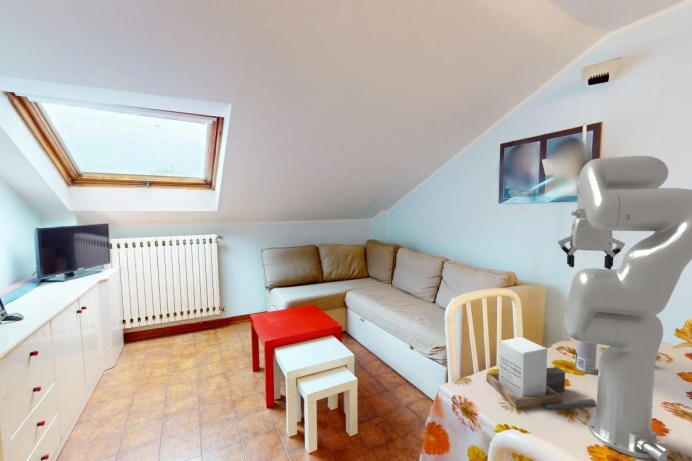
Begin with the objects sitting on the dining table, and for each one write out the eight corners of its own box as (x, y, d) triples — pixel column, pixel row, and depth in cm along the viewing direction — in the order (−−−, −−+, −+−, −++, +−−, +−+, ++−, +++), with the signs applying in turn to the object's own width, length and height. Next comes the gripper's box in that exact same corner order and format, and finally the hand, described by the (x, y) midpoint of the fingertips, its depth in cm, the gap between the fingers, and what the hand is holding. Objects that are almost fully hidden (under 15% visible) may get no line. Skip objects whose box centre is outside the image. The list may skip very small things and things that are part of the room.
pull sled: (580, 402, 84) (581, 382, 84) (515, 408, 82) (516, 387, 82) (542, 376, 98) (543, 358, 97) (486, 381, 95) (486, 362, 95)
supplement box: (520, 382, 95) (521, 336, 94) (546, 399, 87) (548, 348, 86) (497, 387, 92) (498, 339, 91) (522, 405, 84) (524, 352, 83)
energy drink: (588, 366, 105) (589, 332, 104) (599, 374, 100) (601, 339, 99) (571, 365, 106) (573, 332, 105) (582, 373, 100) (583, 338, 100)
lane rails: (595, 406, 83) (595, 401, 83) (546, 410, 81) (546, 405, 81) (548, 374, 100) (548, 370, 100) (506, 377, 98) (506, 373, 98)
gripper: (562, 215, 97) (560, 267, 98) (631, 215, 90) (628, 271, 91) (556, 214, 104) (554, 264, 105) (620, 215, 97) (617, 267, 98)
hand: (589, 267), depth 98 cm, fingers open, 9 cm apart
